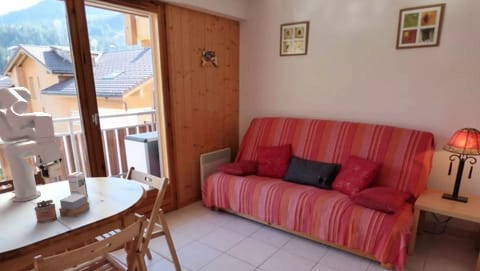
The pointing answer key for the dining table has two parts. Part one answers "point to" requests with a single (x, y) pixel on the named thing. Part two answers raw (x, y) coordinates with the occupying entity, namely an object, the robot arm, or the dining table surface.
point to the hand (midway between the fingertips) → (51, 174)
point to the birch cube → (53, 170)
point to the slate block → (73, 201)
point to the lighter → (45, 212)
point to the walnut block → (74, 211)
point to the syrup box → (77, 183)
